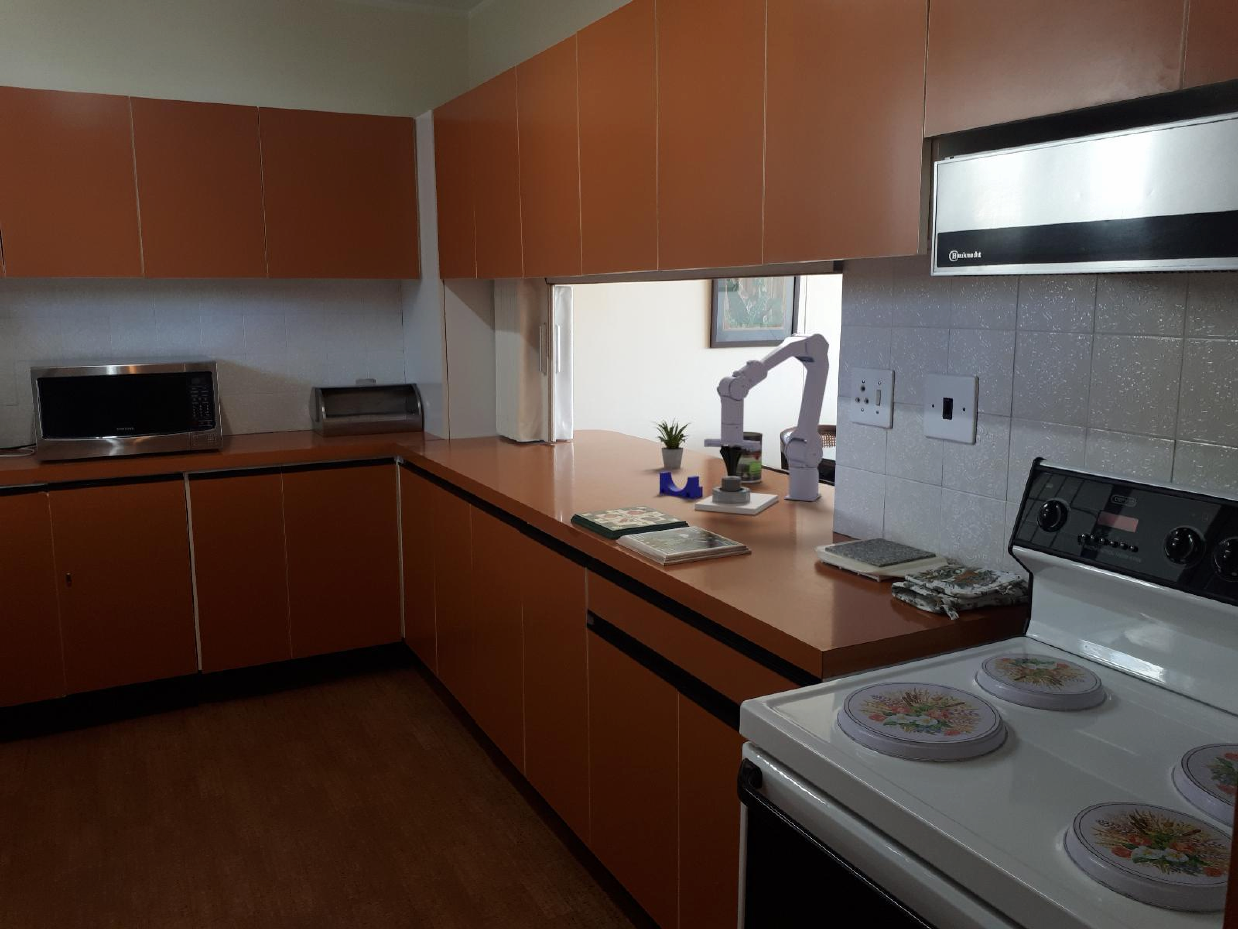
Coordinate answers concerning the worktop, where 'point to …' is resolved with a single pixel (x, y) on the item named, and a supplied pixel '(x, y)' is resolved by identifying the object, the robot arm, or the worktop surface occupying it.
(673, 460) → the house plant
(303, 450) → the worktop surface
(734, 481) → the dark gray cylinder
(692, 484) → the blue u-shaped cradle block
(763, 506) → the socket board
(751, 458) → the coffee can
